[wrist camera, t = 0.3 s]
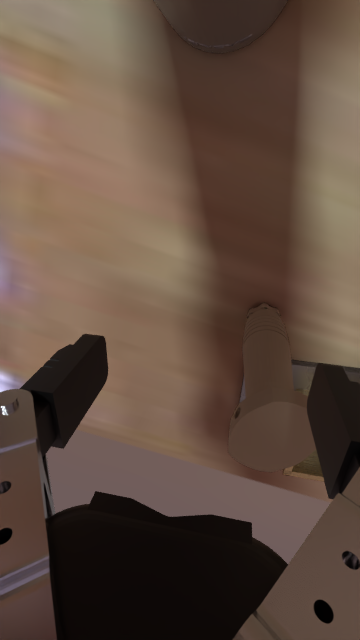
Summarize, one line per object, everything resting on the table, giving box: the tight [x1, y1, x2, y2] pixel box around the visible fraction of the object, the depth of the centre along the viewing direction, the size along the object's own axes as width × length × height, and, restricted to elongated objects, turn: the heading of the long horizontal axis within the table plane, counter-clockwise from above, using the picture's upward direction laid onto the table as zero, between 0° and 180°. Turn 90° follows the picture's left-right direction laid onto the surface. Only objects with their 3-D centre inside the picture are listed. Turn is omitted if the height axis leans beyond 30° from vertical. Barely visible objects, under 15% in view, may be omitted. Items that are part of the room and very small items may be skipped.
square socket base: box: [239, 360, 360, 482], centre depth 35 cm, size 16×20×5 cm
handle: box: [228, 303, 316, 472], centre depth 25 cm, size 5×6×15 cm
